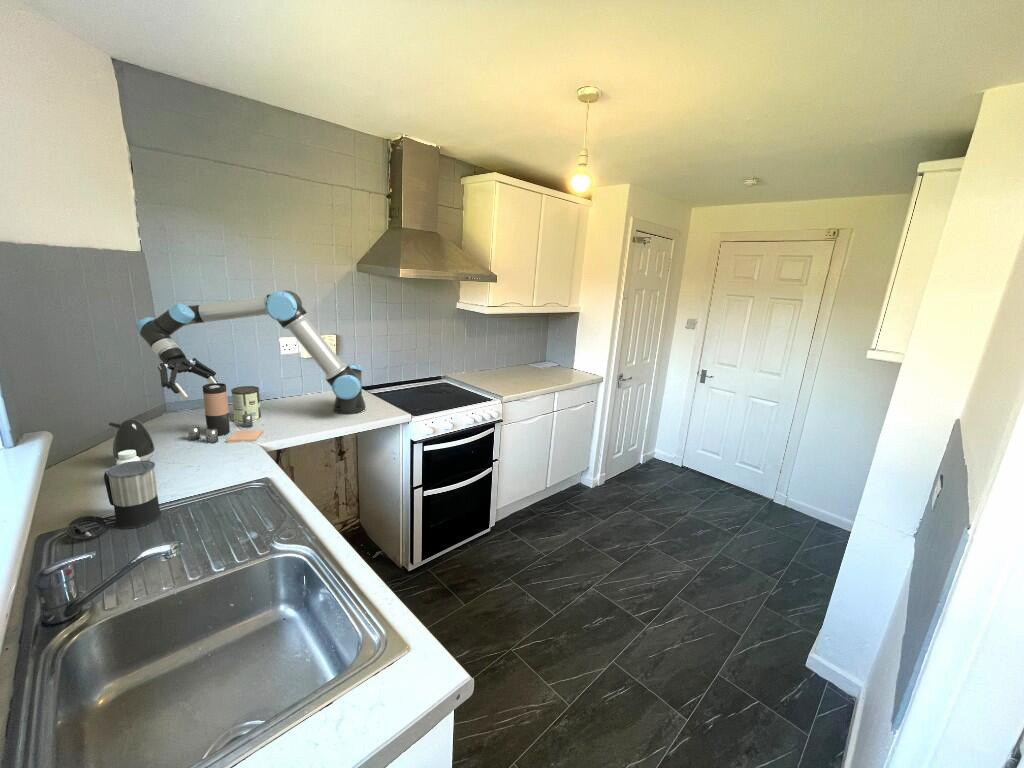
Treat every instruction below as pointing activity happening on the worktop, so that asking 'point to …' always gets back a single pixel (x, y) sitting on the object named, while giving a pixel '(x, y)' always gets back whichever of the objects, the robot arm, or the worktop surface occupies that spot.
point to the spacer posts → (215, 430)
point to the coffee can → (246, 402)
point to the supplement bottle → (127, 456)
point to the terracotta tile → (245, 436)
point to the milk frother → (124, 499)
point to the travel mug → (216, 407)
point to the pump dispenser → (132, 439)
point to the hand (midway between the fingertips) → (202, 394)
